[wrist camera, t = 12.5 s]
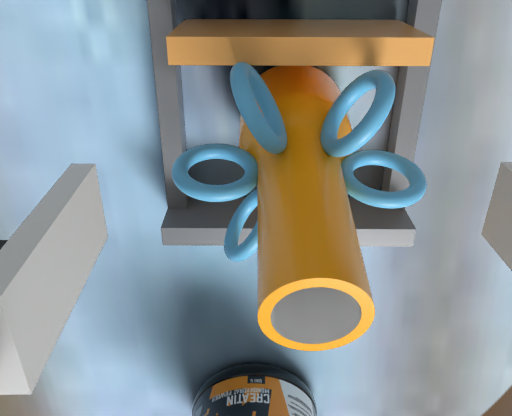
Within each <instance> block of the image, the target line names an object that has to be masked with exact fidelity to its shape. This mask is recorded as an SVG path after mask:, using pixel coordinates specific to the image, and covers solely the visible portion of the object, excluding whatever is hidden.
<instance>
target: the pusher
mask: <svg viewBox="0 0 512 416" xmlns="http://www.w3.org/2000/svg"><path fill="white" fill-rule="evenodd" d="M434 39H435V38H434V37H432V36H430V35H428V34H426V33H424V32H422V31H420V30H418V29H416V28H414V27H412V26H410V25H408V24H406V23H404V22H402V21H400V20H345V19H185V20H184V21H183V22H181V23H180V24H179V25H178V26H177V27H176V28H175V29H174V30H173V31H172V32H171V33H169V34H168V35H167V36H166V43H167V54H168V65H235V64H236V63H238V62H245V63H248V64H249V65H277V66H430V62H431V56H432V50H433V45H434Z"/></svg>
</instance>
